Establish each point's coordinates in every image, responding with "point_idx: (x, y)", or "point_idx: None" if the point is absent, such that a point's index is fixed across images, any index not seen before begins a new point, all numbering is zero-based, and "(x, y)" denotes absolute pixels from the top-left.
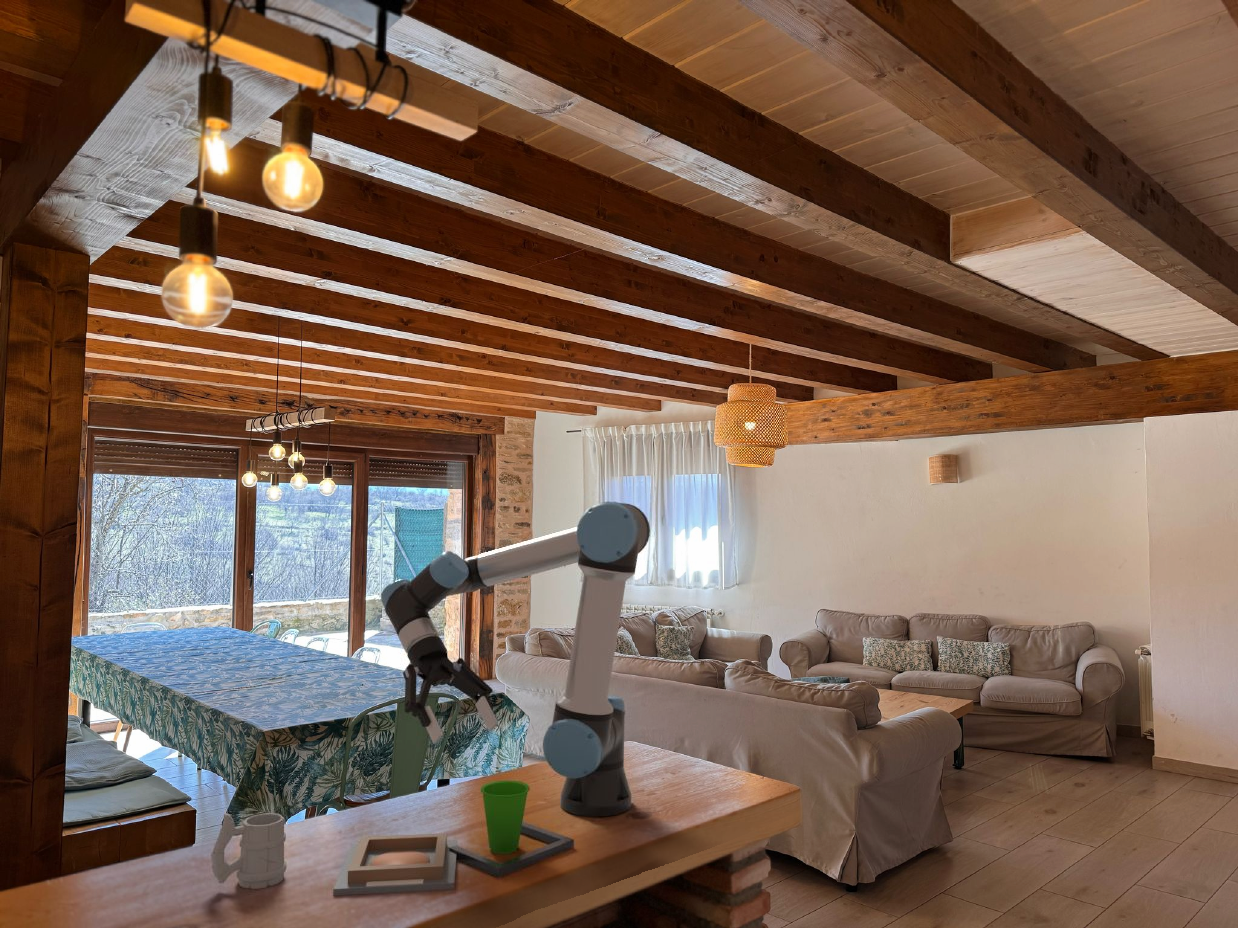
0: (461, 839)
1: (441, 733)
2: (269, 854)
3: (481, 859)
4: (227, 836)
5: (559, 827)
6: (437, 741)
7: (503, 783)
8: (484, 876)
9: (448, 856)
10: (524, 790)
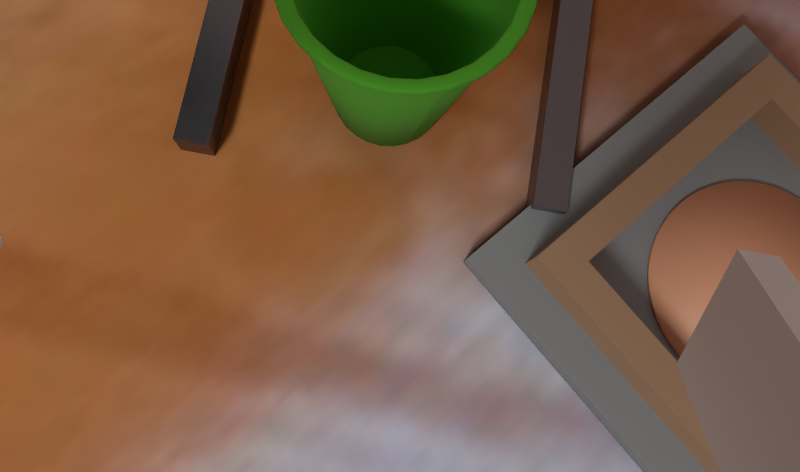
0: (404, 292)
1: (757, 264)
2: None
3: (577, 45)
4: None
5: (85, 46)
6: (693, 344)
7: (319, 42)
8: (608, 13)
9: (605, 178)
10: None
